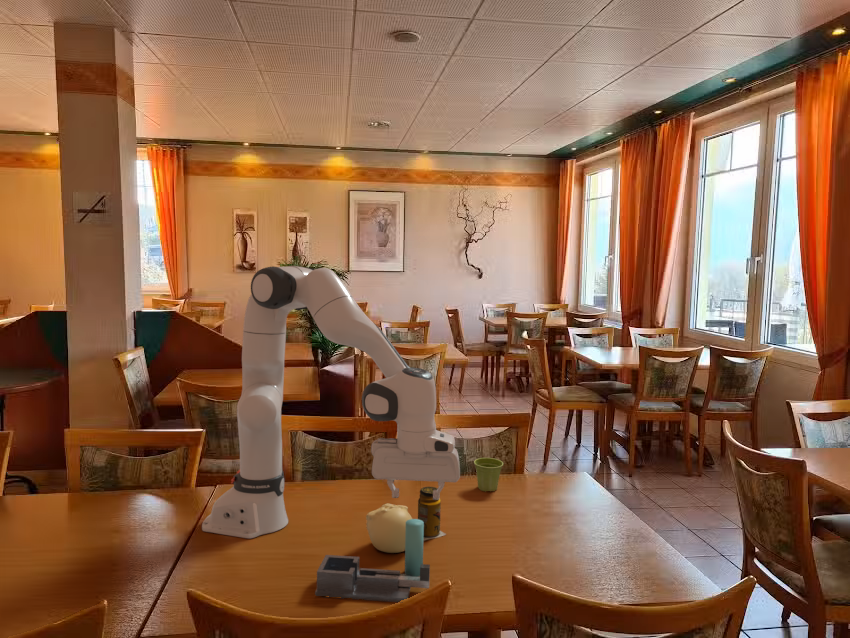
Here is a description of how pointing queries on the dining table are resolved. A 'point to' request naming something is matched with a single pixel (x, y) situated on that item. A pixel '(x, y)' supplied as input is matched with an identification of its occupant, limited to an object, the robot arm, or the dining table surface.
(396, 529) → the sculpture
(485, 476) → the plant pot
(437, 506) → the condiment
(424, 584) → the pin
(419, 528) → the peg
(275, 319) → the robot arm
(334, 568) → the mount
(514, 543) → the dining table surface
